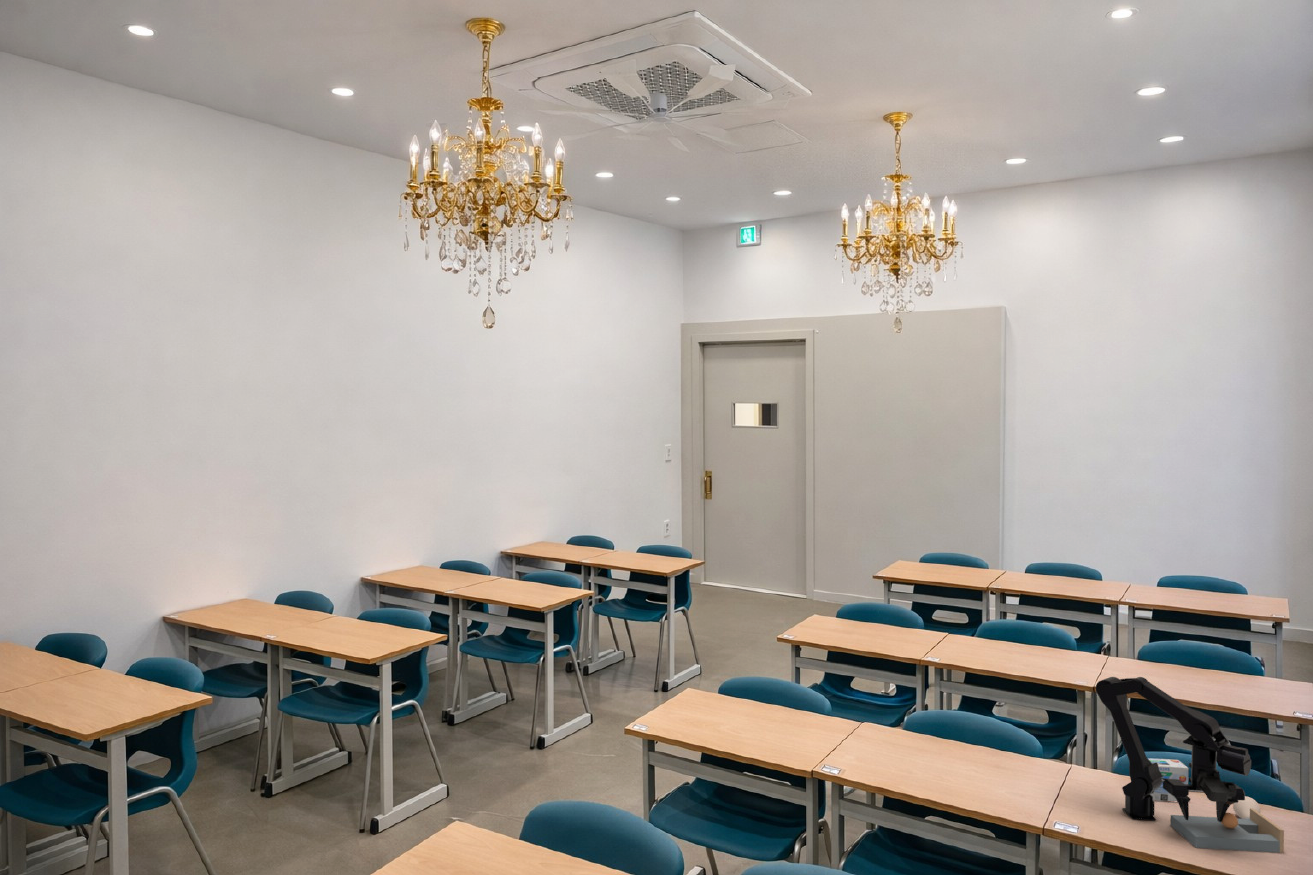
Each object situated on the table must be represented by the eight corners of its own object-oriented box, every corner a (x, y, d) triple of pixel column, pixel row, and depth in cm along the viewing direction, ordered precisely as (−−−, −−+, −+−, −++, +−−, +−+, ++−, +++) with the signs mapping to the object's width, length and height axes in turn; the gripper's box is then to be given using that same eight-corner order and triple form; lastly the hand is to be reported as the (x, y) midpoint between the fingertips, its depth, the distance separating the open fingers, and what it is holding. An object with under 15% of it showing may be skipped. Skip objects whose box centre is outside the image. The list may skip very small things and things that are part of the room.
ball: (1225, 830, 225) (1225, 815, 225) (1217, 824, 229) (1217, 809, 229) (1241, 831, 225) (1241, 816, 225) (1232, 825, 229) (1232, 810, 229)
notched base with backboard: (1195, 847, 222) (1195, 825, 222) (1170, 825, 234) (1170, 804, 235) (1283, 852, 219) (1283, 829, 219) (1253, 829, 232) (1253, 808, 232)
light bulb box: (1151, 801, 250) (1151, 765, 250) (1141, 791, 257) (1141, 757, 257) (1189, 803, 249) (1189, 767, 249) (1178, 794, 256) (1178, 759, 256)
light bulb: (1264, 816, 230) (1256, 791, 240) (1235, 815, 234) (1229, 790, 243) (1268, 837, 231) (1260, 811, 241) (1240, 835, 235) (1233, 810, 244)
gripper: (1184, 773, 220) (1183, 832, 220) (1258, 777, 219) (1257, 836, 219) (1162, 757, 232) (1161, 813, 231) (1233, 761, 230) (1232, 817, 230)
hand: (1202, 820), depth 228 cm, fingers open, 8 cm apart
